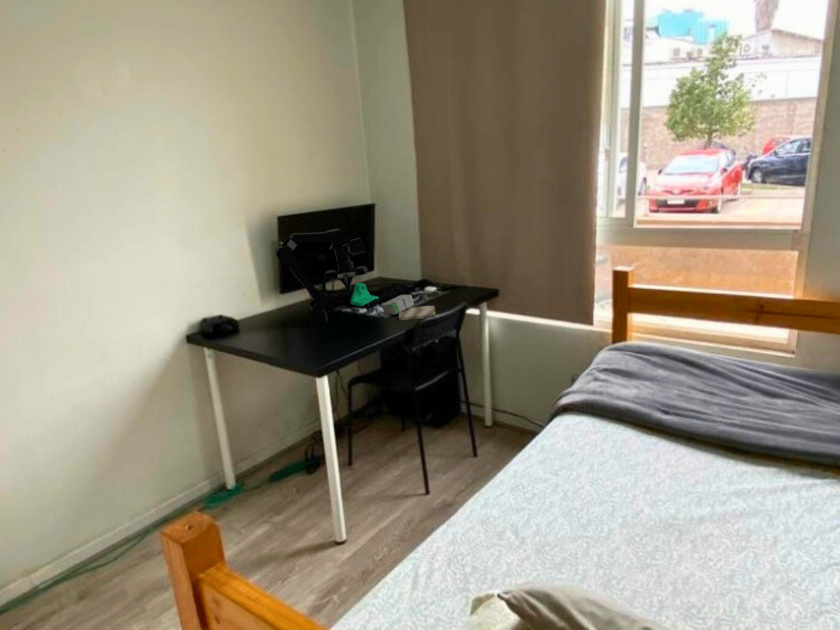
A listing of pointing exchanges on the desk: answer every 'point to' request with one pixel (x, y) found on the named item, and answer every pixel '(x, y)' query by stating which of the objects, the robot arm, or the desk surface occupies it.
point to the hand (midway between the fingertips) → (349, 291)
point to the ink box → (398, 304)
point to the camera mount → (361, 295)
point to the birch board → (417, 312)
